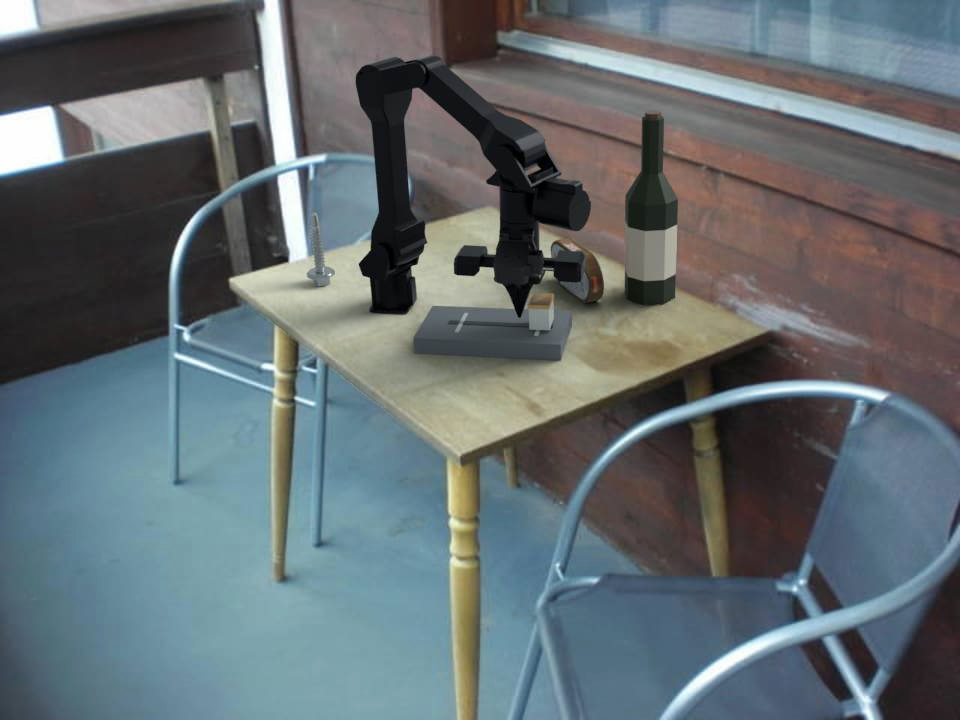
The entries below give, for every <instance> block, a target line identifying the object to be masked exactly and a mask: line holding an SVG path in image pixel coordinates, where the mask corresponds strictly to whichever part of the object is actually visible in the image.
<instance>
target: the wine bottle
mask: <svg viewBox="0 0 960 720" xmlns="http://www.w3.org/2000/svg"><path fill="white" fill-rule="evenodd" d="M664 132H665V117H664V116H663V115H662V112H661V110H655V109H654V110H652V109H651V110H647V111H645V112H644V116H642V117H641V153H640V154H641V155H640V156H641V159H640V166H641V167H640V169H641V170H640V172H639V173H638V175H637V176H636V178H635V179H634V181H633V183H632V184H631V186H630V187H629V189H628V190H627V192H626V193H625V196H624V197H625V203H624V204H625V206H624V208H625V210H624V212H625V213H624V214H625V215H624V216H625V217H624V223H625V224H624V296H625V298H626V301H627V302H631V303H635V304H637V305H641V306H655V305H657V304H659V305H665V304H667V303H669V302H670V301H672V300H674V299H676V281H677V280H676V279H677V276H676V275H677V246H678V245H677V243H678V214H679V213H678V209H679V206H678V205H679V197H677V194H676V193H675V191H674V189H673V188H672V185H671V184H670V182H669V180H668V178H667V177H666V175H665V173H664V171H663V170H664V145H665V144H664V143H665V142H664V138H665V137H664V136H665V134H664ZM673 298H674V299H673ZM671 299H672V300H671ZM668 301H669V302H668Z"/></svg>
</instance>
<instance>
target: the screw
mask: <svg viewBox="0 0 960 720" xmlns="http://www.w3.org/2000/svg"><path fill="white" fill-rule="evenodd" d="M309 229H310V233H311V234H310V236H311V238H310V239H311V243H312V244H311V246H312V248H311V249H313V250H312V252H313V254H312V255H313V259H314V260H313V262H314V264H313V265H314V267H313V268H310V269H309V270H308V271H307V272H306V277H307V278H308V279H311V280H313V285H314V286H316V287H318V288H319V287H320V288H321V287H326V286H328V285H329V284H331V279H330V278H332V277H334V276H335V275H336V271H335V269H334V268H333V267H330V266H326V264H325V263H326V261H325V259H326V258H325V254H324V252H325V251H324V244H323V243H324V241H322V240H323V238H322V236H323V234H322V228H321V224H320V223H319V217H318V213H316V212H315V211H313V212H312V213H311V214H310V228H309Z"/></svg>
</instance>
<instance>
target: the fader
mask: <svg viewBox="0 0 960 720" xmlns="http://www.w3.org/2000/svg"><path fill="white" fill-rule="evenodd" d="M554 295H555V293H545V292H544V293H543V292H533V293H532V294H531V297H530V299H529V302H528V304H527V307H528V309H529V330H550V327H551V325H552V322H553V319H554V298H555V297H554Z"/></svg>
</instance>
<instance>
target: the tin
mask: <svg viewBox="0 0 960 720" xmlns="http://www.w3.org/2000/svg"><path fill="white" fill-rule="evenodd" d="M559 250H561V251H579V252H582V253H583V254H584V255H585V257H586V266H585V271H584V274H583V277H582V280H581V282H577V283H575V282H559V281H558V280H557V282H558V283H559V284H560V286H561V287H563V288H564V290H566V291H567V292H568V293H570V294H571V295H572V296H573V297H575V298H576V299H577V300H578V301H580V302H581V303H583V304H584V303H585V304H588V303H591V302H596V301H600V300H601V299H602V298H603V295H604V291H605V282H604V276H603V271H602V268H601V264H600V262H599V261H598V259H597V257H596V255H594V253H593V252H591V251H590V250H589V249H588V248H586V247H585V246H583V245H582V244H581V243H580V242H578V241H577V240H575V239H574V238H572V237H571V236H566V237H564V238H559V239H557V240H554V241H553V242H552V243H551V245H550V256H551V257H550V258H556V257H557V254H558V252H559ZM552 272H553V273H554V271H552Z"/></svg>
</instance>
